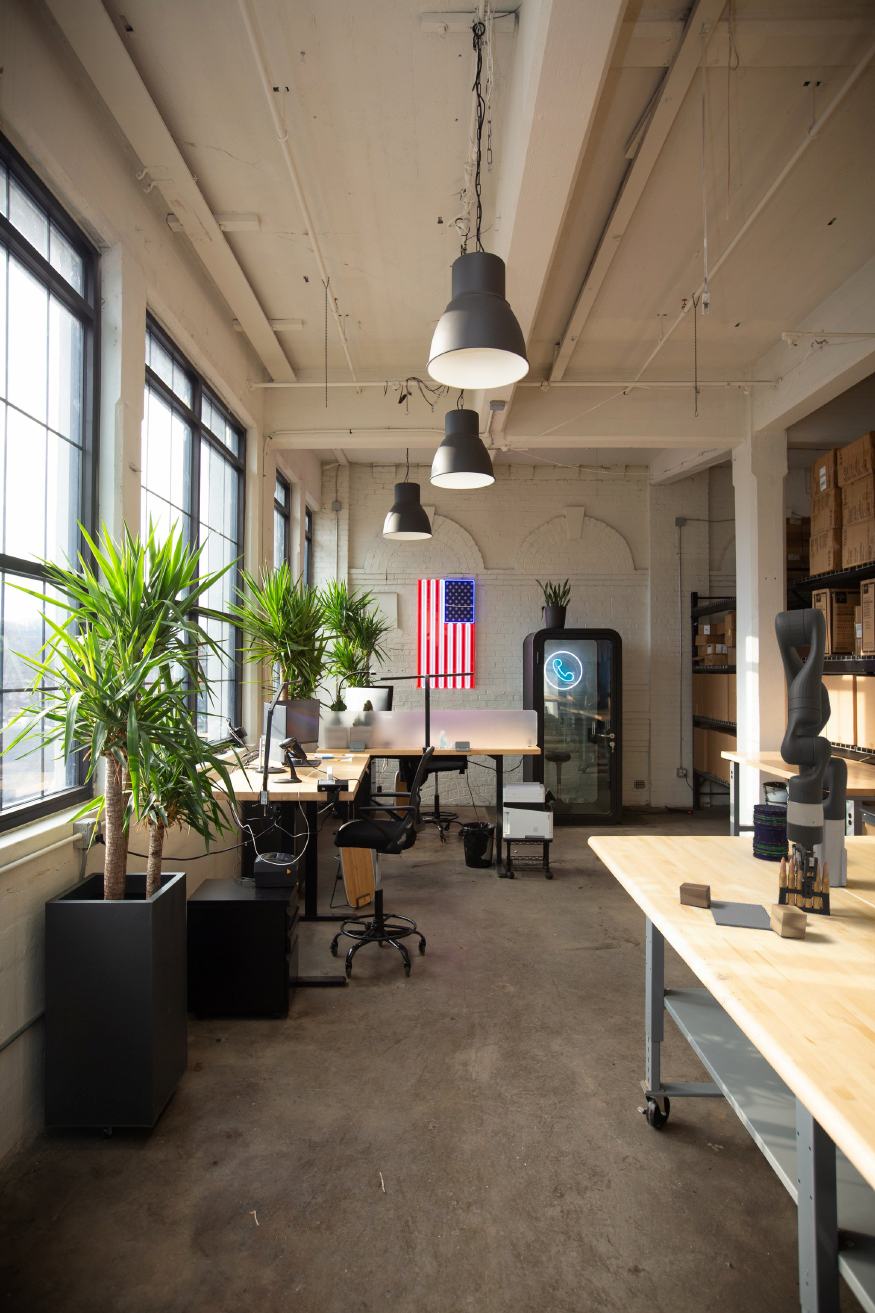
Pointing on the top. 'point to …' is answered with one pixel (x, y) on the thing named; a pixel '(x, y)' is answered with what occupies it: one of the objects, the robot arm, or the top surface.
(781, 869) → the ammunition clip
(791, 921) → the oak block
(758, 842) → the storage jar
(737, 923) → the pad
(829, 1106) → the top surface
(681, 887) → the walnut block
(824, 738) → the robot arm
